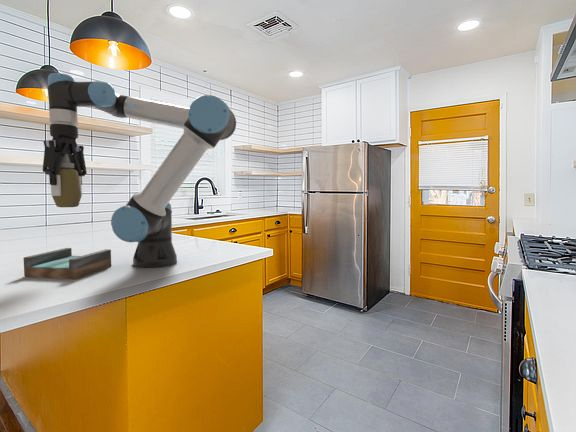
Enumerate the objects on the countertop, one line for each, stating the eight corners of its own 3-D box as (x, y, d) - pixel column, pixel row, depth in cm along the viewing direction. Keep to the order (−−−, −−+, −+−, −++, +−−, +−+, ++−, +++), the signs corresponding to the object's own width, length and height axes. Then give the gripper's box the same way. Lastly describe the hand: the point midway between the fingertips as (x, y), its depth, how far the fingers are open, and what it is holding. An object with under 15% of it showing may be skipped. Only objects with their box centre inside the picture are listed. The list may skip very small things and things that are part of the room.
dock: (111, 266, 116) (110, 249, 116) (75, 279, 99) (74, 259, 99) (66, 264, 118) (66, 247, 117) (24, 276, 101) (23, 257, 100)
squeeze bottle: (66, 207, 103) (64, 149, 102) (46, 207, 105) (43, 150, 103) (87, 206, 111) (85, 152, 109) (68, 206, 113) (65, 153, 111)
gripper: (77, 131, 116) (80, 195, 118) (23, 118, 96) (28, 196, 98) (97, 130, 115) (99, 195, 117) (46, 117, 95) (50, 196, 97)
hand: (67, 195), depth 107 cm, fingers closed on squeeze bottle, 8 cm apart
